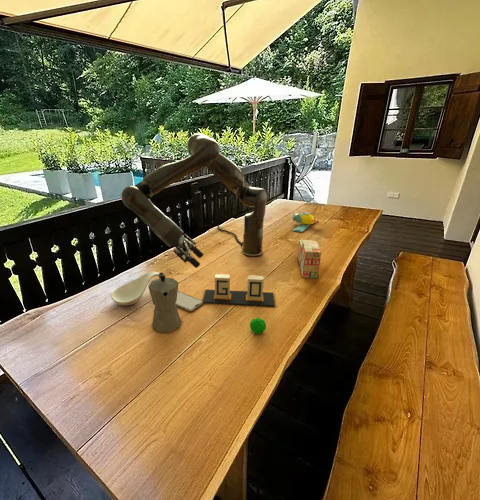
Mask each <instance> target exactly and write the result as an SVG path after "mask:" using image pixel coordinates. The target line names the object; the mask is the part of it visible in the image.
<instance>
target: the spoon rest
mask: <svg viewBox="0 0 480 500" xmlns="http://www.w3.org/2000/svg"><path fill="white" fill-rule="evenodd" d="M159 274H160V272H158V271H148V272H146V273H145V274H143V275H141V276H139V277H136V278H135V279H133V280H130V281H129V282H127V283H125V284H123V285H120V286H119V287H117V288H115V289H114V290H113V291H112V293H111V296H110V298H111V300H112V301H113V302H114V303H116V304H117V305H120V306H131V305H134V304H136V303H137V302H138V301H140V300H141V299H142V297H143V295H144V293H145V291H146V289H147V287H148V285H149V284H150V283H149V282H151V280H152V278H154V277H159Z"/></svg>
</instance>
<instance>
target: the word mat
mask: <svg viewBox="0 0 480 500" xmlns="http://www.w3.org/2000/svg"><path fill="white" fill-rule="evenodd" d="M202 301H203V303H202V304H212V305H213V304H214V305H215V304H216V305H230V306H231V305H232V306H233V305H234V306H248V307H249V306H250V307H252V306H253V307H268V308H269V307H270V308H275V305H276V304H275V299H274V293H273V292H266V291H263V297H262V300H250V299H247V290H246V291H244V290H230V298H215V289H205V291H204V296H203V300H202Z"/></svg>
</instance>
